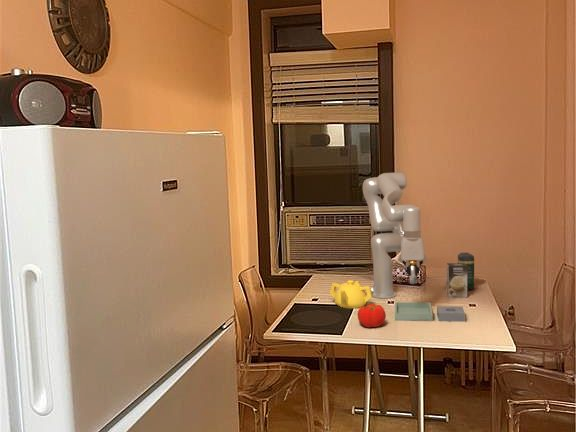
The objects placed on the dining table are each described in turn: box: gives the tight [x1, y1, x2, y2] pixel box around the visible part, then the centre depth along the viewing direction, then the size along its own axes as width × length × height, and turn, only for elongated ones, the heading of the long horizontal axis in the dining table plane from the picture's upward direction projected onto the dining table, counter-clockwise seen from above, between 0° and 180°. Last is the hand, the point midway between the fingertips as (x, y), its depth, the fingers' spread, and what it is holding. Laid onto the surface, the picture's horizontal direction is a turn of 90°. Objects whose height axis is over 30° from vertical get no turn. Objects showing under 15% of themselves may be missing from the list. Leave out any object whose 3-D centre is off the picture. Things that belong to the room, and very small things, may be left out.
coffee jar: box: [457, 252, 475, 291], centre depth 314 cm, size 10×8×19 cm
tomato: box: [357, 303, 387, 328], centre depth 258 cm, size 13×12×8 cm
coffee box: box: [446, 262, 468, 299], centre depth 299 cm, size 9×6×16 cm
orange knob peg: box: [409, 261, 417, 285], centre depth 270 cm, size 4×4×10 cm
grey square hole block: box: [436, 305, 466, 322], centre depth 265 cm, size 11×11×4 cm
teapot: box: [329, 279, 373, 309], centre depth 292 cm, size 17×17×12 cm
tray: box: [394, 301, 434, 322], centre depth 272 cm, size 16×19×3 cm
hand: (412, 275), depth 270 cm, fingers closed on orange knob peg, 2 cm apart
